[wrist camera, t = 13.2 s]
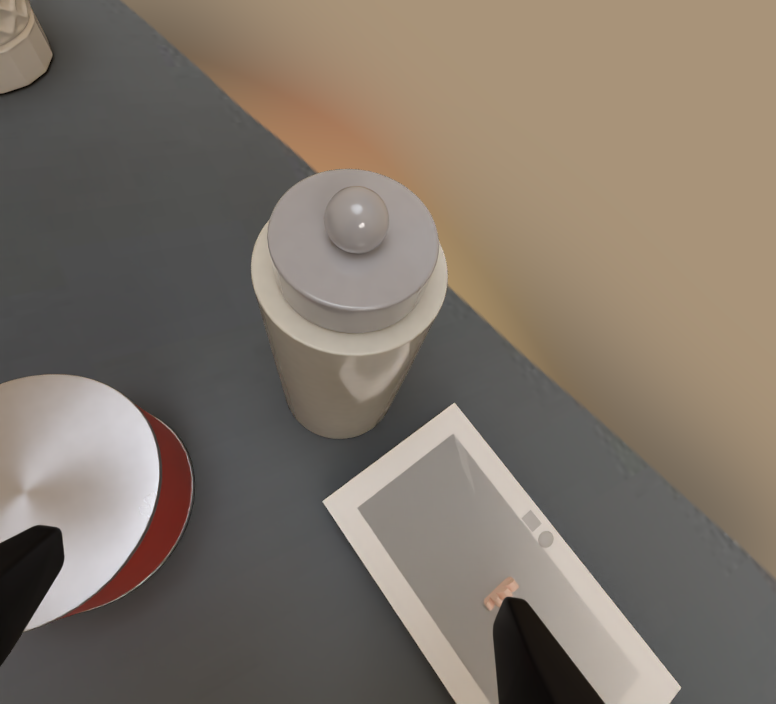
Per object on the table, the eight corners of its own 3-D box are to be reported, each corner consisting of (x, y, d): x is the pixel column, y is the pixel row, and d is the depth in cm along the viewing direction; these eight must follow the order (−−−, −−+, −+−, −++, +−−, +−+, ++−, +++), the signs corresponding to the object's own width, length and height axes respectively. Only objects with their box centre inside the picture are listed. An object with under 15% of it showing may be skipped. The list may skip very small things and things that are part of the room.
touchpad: (542, 835, 17) (572, 876, 15) (322, 503, 20) (322, 499, 18) (662, 679, 19) (701, 696, 17) (448, 408, 23) (460, 396, 21)
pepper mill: (410, 416, 22) (519, 268, 10) (304, 455, 21) (272, 339, 8) (371, 323, 24) (422, 94, 12) (271, 352, 23) (204, 129, 10)
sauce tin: (215, 560, 19) (183, 569, 15) (-14, 653, 17) (-129, 694, 12) (173, 382, 21) (135, 346, 17) (-29, 443, 19) (-128, 417, 15)
